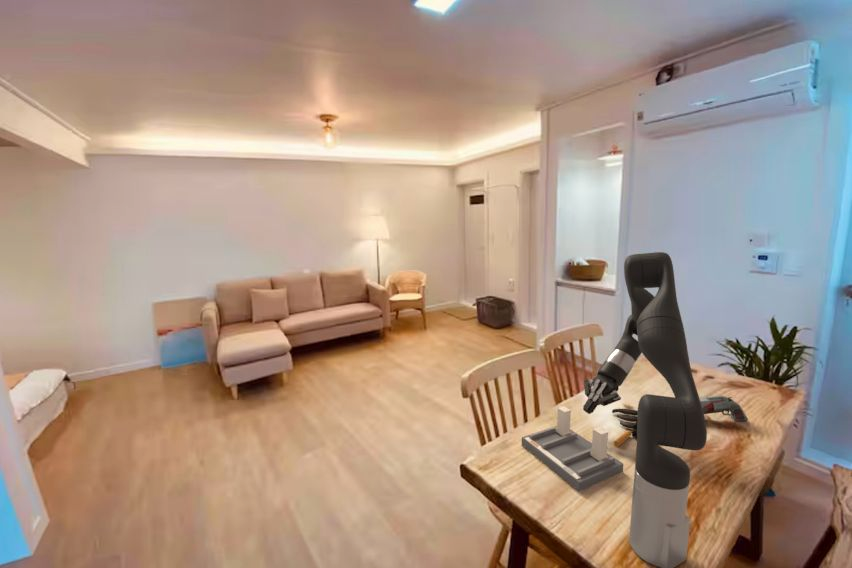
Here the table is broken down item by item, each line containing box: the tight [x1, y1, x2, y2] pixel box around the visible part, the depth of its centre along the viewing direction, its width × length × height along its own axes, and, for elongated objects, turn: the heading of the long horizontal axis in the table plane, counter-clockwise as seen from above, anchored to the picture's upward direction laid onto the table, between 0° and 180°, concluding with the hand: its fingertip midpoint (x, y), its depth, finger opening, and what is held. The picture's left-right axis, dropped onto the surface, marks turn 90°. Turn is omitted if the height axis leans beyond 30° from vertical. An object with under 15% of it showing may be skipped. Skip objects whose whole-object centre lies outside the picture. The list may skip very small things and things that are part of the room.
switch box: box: [521, 425, 624, 492], centre depth 108 cm, size 22×16×4 cm
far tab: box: [556, 405, 572, 436], centre depth 115 cm, size 4×2×8 cm, turn 25°
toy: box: [611, 408, 638, 448], centre depth 121 cm, size 23×4×30 cm
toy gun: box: [699, 394, 749, 423], centre depth 126 cm, size 4×20×10 cm, turn 81°
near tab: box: [590, 426, 609, 461], centre depth 103 cm, size 4×2×8 cm, turn 25°
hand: (586, 411), depth 118 cm, fingers closed
